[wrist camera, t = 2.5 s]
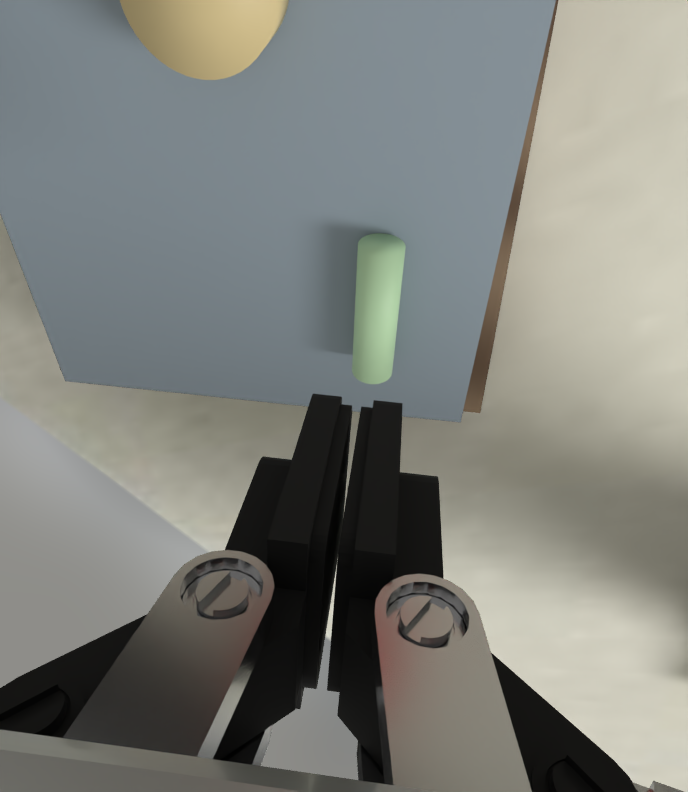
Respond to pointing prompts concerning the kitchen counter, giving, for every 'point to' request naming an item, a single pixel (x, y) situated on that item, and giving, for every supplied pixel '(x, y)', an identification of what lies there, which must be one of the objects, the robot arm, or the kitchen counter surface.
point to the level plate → (266, 189)
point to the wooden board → (503, 259)
